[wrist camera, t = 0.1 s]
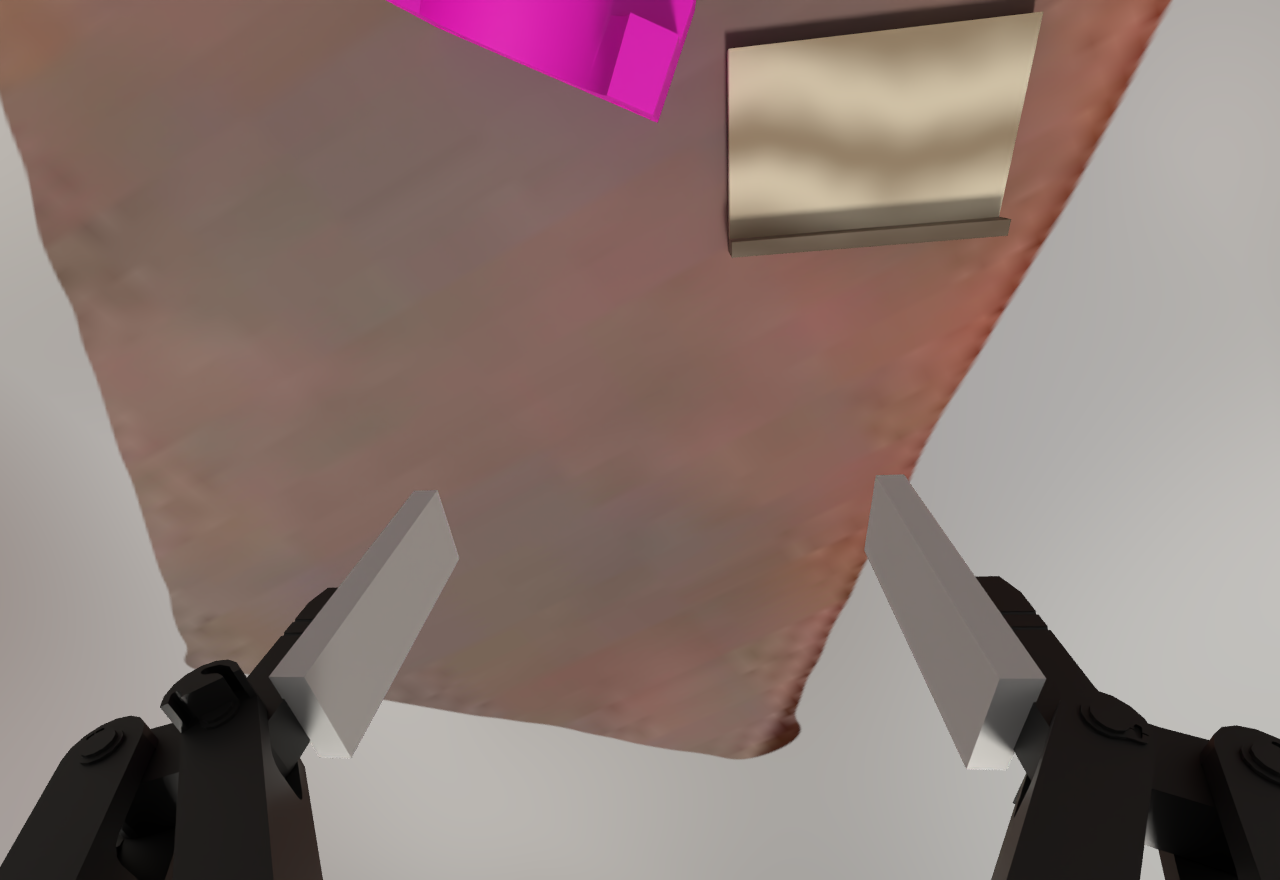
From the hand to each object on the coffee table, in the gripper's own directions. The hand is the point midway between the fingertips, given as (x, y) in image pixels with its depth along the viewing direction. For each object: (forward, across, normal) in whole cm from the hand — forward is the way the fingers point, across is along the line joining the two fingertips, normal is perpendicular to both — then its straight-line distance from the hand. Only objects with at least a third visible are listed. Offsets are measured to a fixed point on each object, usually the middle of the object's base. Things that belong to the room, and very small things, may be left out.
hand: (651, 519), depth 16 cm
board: (+28, +14, +9) cm, 32 cm away
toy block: (+28, -6, +18) cm, 34 cm away
